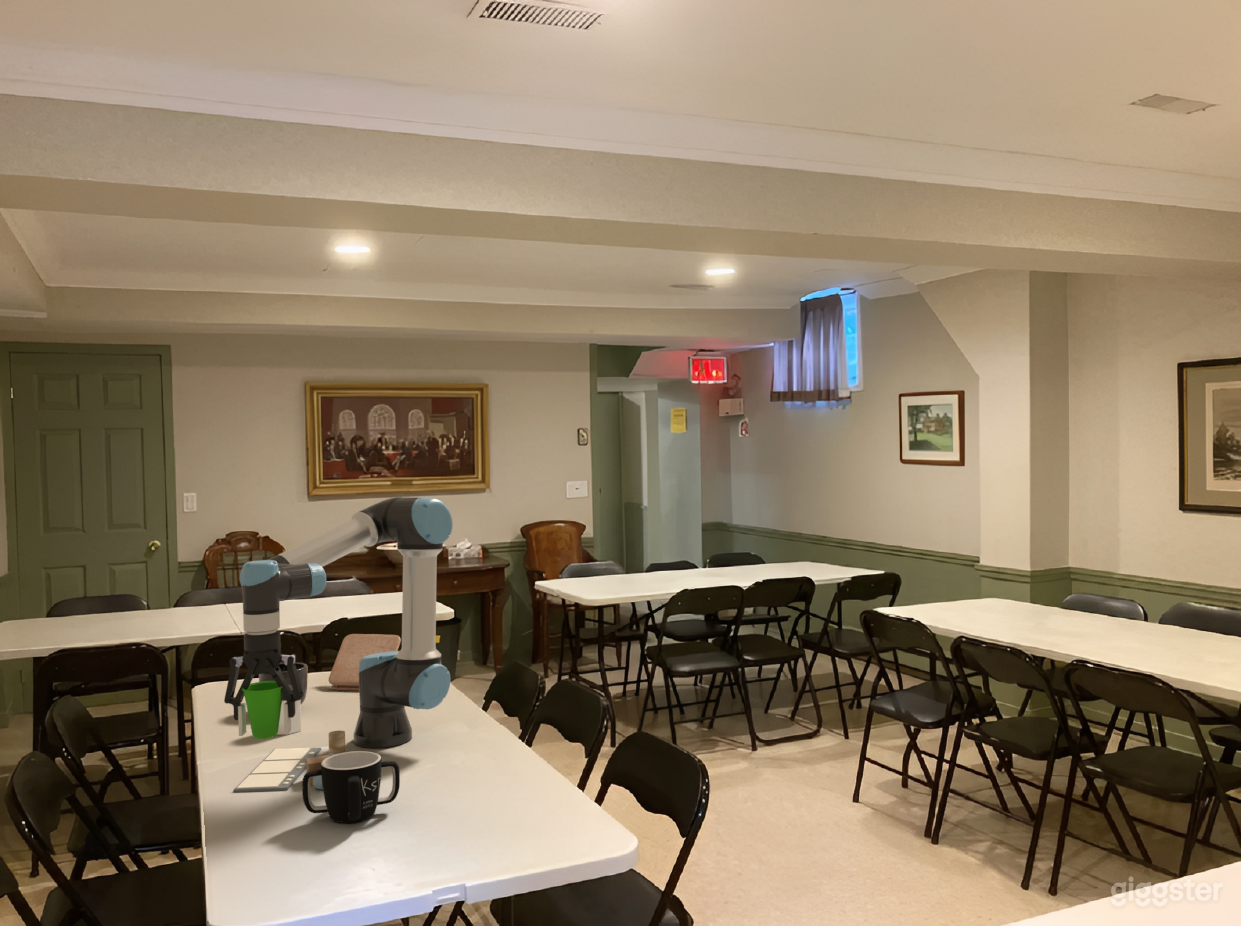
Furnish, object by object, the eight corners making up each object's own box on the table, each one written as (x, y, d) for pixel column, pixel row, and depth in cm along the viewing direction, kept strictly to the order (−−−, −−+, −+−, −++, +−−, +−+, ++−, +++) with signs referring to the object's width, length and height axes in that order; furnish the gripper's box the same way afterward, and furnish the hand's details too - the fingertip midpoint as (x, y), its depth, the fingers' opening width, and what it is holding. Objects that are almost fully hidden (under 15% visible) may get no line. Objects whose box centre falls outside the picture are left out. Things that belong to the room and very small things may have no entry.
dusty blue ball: (331, 785, 221) (330, 770, 221) (327, 791, 218) (326, 775, 218) (315, 786, 221) (314, 770, 221) (311, 791, 218) (310, 775, 217)
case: (325, 691, 313) (325, 642, 313) (353, 676, 334) (353, 630, 334) (385, 693, 310) (384, 643, 309) (410, 678, 330) (409, 631, 330)
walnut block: (328, 775, 229) (328, 754, 229) (331, 782, 224) (330, 760, 224) (306, 779, 227) (306, 757, 227) (308, 785, 222) (308, 763, 222)
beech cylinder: (347, 753, 245) (346, 730, 245) (343, 758, 241) (342, 734, 241) (331, 754, 245) (330, 730, 245) (327, 759, 241) (326, 735, 241)
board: (321, 749, 249) (321, 746, 249) (287, 789, 219) (287, 786, 219) (273, 751, 248) (273, 748, 248) (233, 791, 218) (233, 788, 218)
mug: (349, 837, 191) (348, 776, 191) (295, 822, 199) (294, 764, 199) (408, 810, 205) (407, 754, 205) (355, 797, 213) (354, 743, 213)
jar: (268, 728, 270) (268, 685, 270) (299, 725, 273) (298, 682, 273) (270, 737, 261) (269, 693, 261) (302, 733, 265) (301, 689, 264)
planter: (318, 707, 292) (317, 664, 292) (280, 718, 280) (279, 674, 280) (288, 701, 299) (287, 660, 299) (249, 712, 288) (248, 669, 287)
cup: (246, 744, 206) (244, 693, 206) (240, 733, 214) (239, 684, 214) (290, 737, 210) (288, 687, 210) (283, 727, 218) (281, 678, 218)
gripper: (316, 626, 216) (319, 725, 217) (217, 630, 215) (220, 730, 215) (308, 632, 209) (311, 735, 209) (205, 636, 207) (208, 740, 208)
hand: (265, 733), depth 212 cm, fingers closed on cup, 9 cm apart
